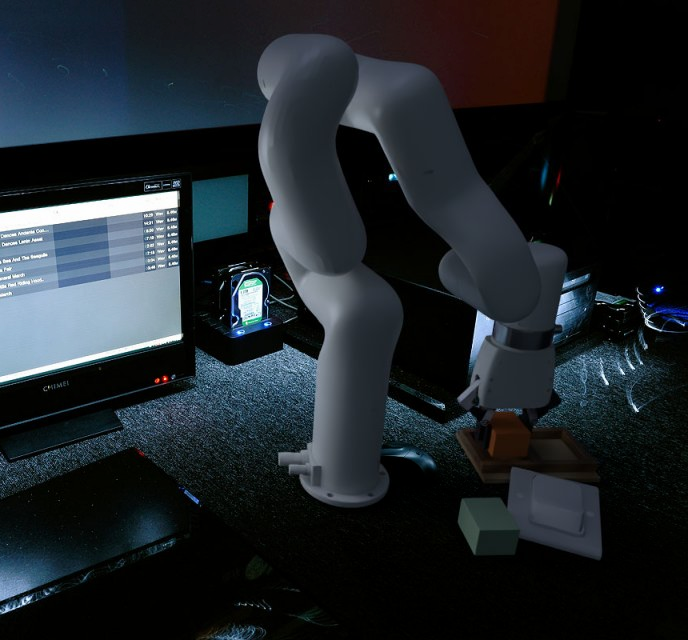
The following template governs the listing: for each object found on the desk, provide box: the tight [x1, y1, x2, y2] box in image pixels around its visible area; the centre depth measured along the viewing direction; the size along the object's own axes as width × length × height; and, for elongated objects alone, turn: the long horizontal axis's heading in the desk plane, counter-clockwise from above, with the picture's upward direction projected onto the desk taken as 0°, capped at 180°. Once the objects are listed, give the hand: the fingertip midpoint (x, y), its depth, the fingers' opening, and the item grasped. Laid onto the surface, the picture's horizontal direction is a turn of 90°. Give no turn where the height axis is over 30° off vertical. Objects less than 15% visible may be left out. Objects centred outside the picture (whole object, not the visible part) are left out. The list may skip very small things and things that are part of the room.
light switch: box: [506, 467, 603, 561], centre depth 87 cm, size 11×4×13 cm
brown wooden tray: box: [455, 426, 601, 484], centre depth 99 cm, size 16×12×2 cm
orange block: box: [487, 410, 531, 457], centre depth 98 cm, size 5×6×4 cm
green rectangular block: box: [457, 497, 520, 556], centre depth 84 cm, size 5×6×4 cm
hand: (501, 442), depth 99 cm, fingers closed on orange block, 4 cm apart
